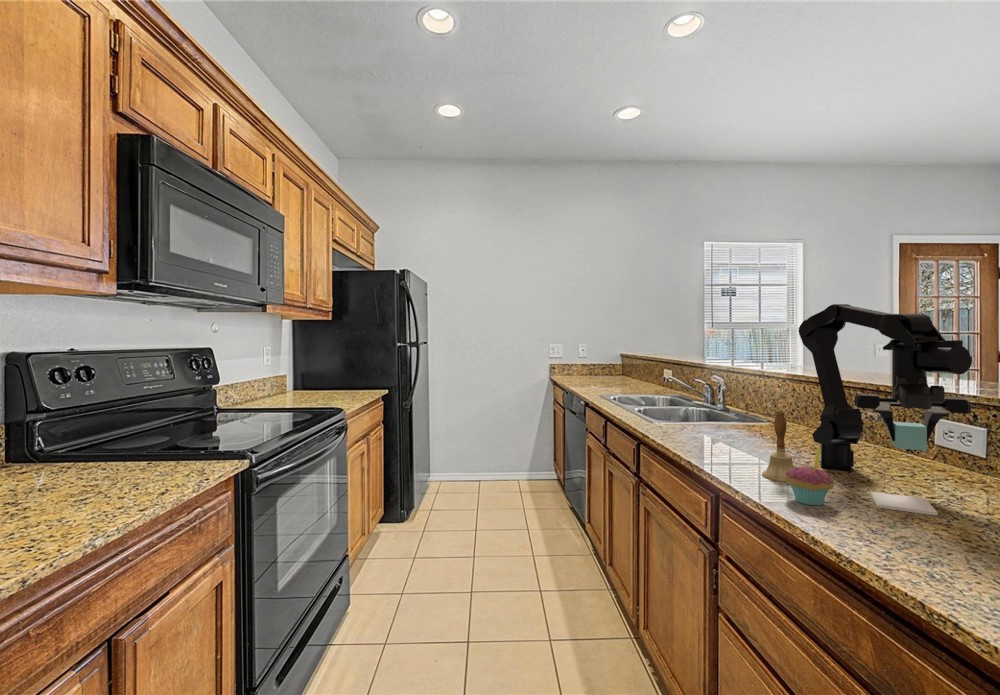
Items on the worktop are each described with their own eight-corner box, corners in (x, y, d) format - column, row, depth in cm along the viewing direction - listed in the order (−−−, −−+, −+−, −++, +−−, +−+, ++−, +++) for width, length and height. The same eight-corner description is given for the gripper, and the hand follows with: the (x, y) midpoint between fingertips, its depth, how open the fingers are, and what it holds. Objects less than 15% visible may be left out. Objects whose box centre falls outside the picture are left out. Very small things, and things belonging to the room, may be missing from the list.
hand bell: (764, 480, 113) (764, 413, 113) (759, 471, 121) (759, 408, 121) (804, 484, 110) (805, 415, 110) (797, 474, 118) (797, 409, 117)
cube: (896, 448, 104) (896, 425, 104) (892, 443, 108) (892, 421, 108) (926, 450, 101) (926, 427, 101) (920, 446, 105) (921, 423, 105)
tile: (877, 507, 95) (877, 504, 95) (870, 494, 102) (870, 491, 102) (937, 515, 90) (937, 512, 90) (925, 501, 98) (925, 498, 98)
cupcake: (826, 497, 101) (826, 440, 101) (840, 511, 93) (840, 449, 93) (780, 493, 104) (780, 438, 104) (790, 506, 96) (790, 446, 96)
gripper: (860, 372, 102) (860, 445, 102) (980, 375, 93) (980, 455, 93) (854, 369, 112) (854, 435, 112) (962, 371, 102) (961, 443, 102)
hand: (908, 442), depth 105 cm, fingers closed on cube, 5 cm apart
